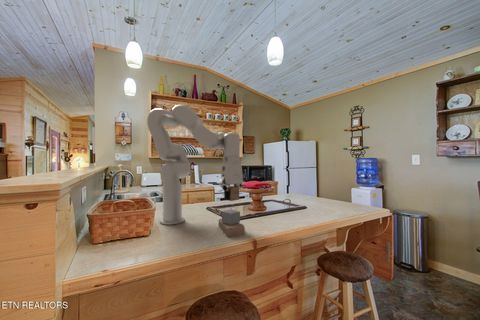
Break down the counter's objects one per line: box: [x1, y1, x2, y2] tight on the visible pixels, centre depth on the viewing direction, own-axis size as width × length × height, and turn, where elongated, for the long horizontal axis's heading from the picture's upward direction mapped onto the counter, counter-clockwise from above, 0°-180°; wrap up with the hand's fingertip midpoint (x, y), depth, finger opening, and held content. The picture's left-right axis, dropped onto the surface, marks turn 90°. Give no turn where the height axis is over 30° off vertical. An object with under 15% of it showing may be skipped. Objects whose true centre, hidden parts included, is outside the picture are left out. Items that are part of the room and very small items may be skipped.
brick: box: [217, 218, 246, 238], centre depth 105 cm, size 17×8×5 cm, turn 20°
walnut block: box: [223, 185, 240, 202], centre depth 106 cm, size 5×5×6 cm
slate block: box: [221, 209, 241, 225], centre depth 105 cm, size 6×6×5 cm
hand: (231, 198), depth 106 cm, fingers closed on walnut block, 5 cm apart
